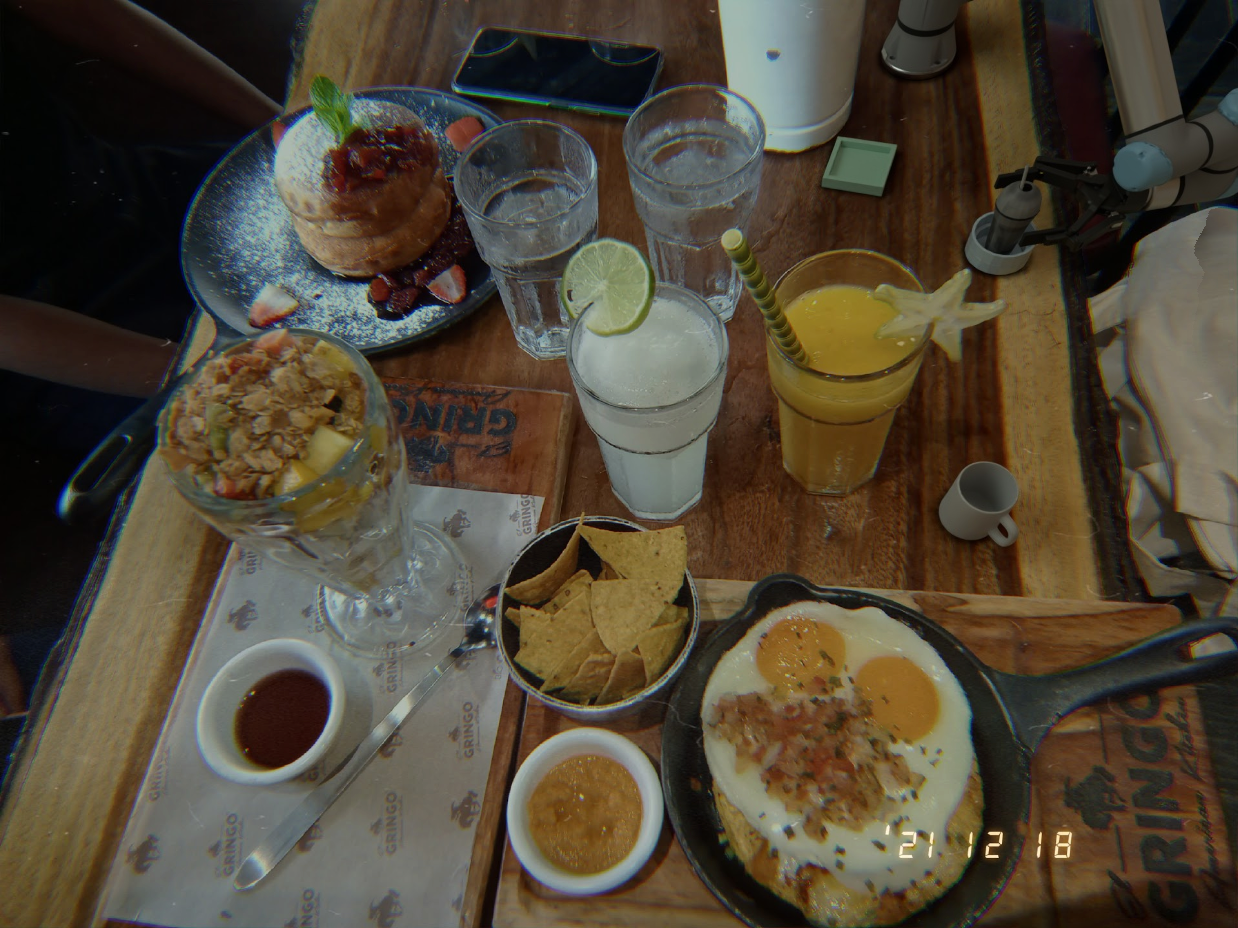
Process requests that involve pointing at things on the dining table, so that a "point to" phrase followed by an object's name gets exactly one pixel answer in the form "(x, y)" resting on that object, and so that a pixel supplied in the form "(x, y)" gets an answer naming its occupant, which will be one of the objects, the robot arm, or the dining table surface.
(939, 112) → the dining table surface
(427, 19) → the dining table surface
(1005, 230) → the beverage cup
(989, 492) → the mug
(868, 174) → the tray
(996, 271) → the bowl
